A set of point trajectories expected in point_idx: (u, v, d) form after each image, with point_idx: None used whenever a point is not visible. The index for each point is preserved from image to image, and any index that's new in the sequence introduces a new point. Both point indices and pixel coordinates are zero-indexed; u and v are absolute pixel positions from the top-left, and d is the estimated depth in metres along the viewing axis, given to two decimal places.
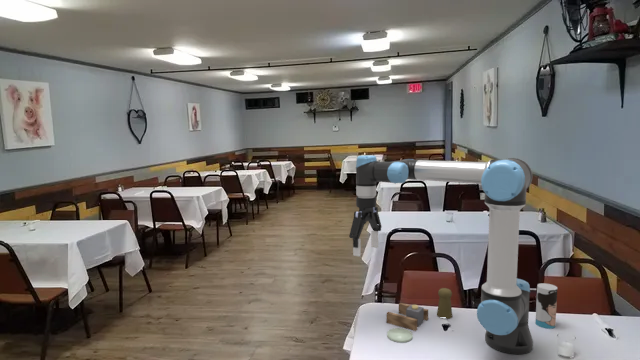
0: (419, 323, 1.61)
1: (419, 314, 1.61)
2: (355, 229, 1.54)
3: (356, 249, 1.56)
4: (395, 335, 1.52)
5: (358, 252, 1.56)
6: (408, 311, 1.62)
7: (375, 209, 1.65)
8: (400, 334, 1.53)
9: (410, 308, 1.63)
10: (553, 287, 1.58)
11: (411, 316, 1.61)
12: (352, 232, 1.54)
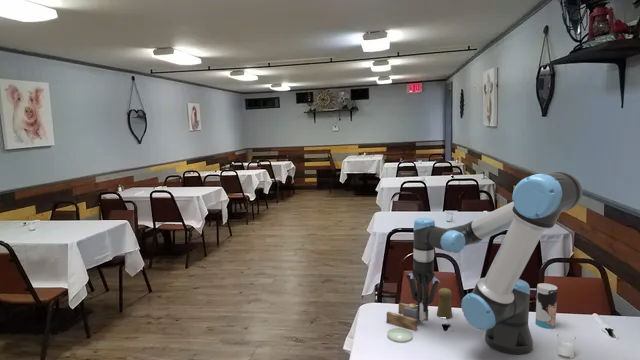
0: (417, 322, 1.62)
1: (417, 313, 1.61)
2: None
3: None
4: (395, 335, 1.52)
5: None
6: (406, 310, 1.63)
7: (435, 282, 1.56)
8: (400, 334, 1.53)
9: (407, 307, 1.64)
10: (553, 287, 1.58)
11: (409, 316, 1.62)
12: None
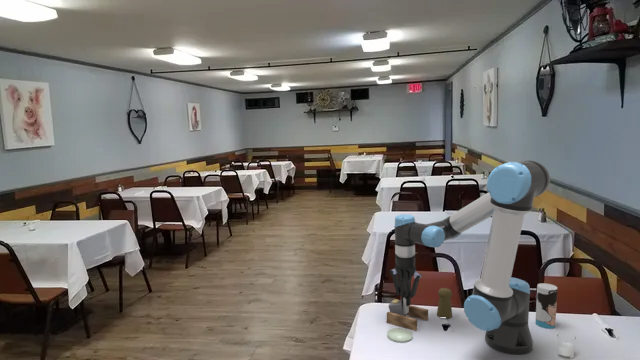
0: (404, 315, 1.66)
1: (402, 306, 1.66)
2: None
3: None
4: (395, 335, 1.52)
5: None
6: (391, 306, 1.66)
7: (416, 276, 1.61)
8: (400, 334, 1.53)
9: (391, 304, 1.67)
10: (553, 287, 1.58)
11: (395, 311, 1.66)
12: None
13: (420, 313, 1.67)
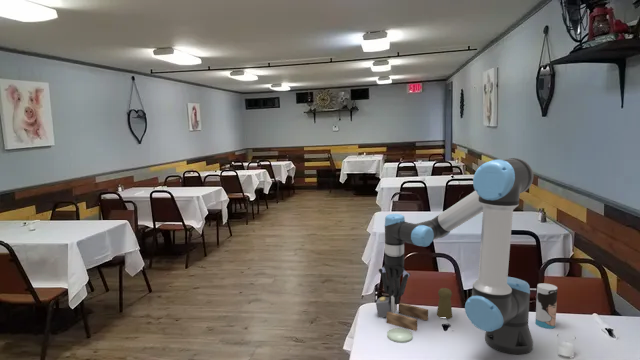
0: None
1: (389, 304, 1.68)
2: None
3: None
4: (395, 335, 1.52)
5: None
6: (378, 304, 1.68)
7: (405, 275, 1.63)
8: (400, 334, 1.53)
9: (379, 301, 1.70)
10: (553, 287, 1.58)
11: (382, 309, 1.68)
12: None
13: (420, 313, 1.67)
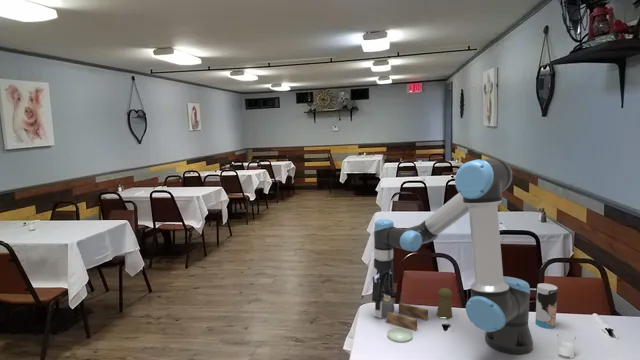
0: None
1: (392, 306, 1.68)
2: (376, 294, 1.65)
3: (378, 311, 1.68)
4: (395, 335, 1.52)
5: (380, 314, 1.68)
6: None
7: (391, 271, 1.74)
8: (400, 334, 1.53)
9: (382, 301, 1.69)
10: (553, 287, 1.58)
11: (384, 309, 1.68)
12: (374, 297, 1.65)
13: (420, 313, 1.67)
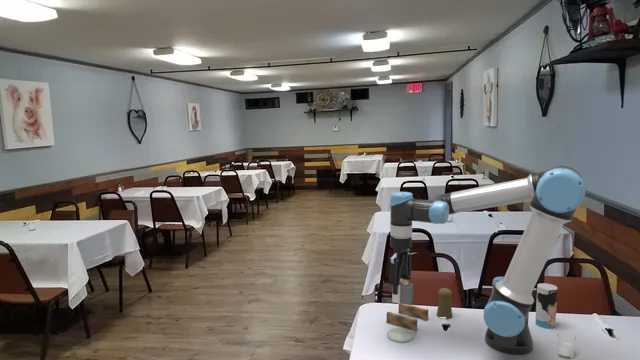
0: (411, 300, 1.49)
1: (411, 290, 1.48)
2: (394, 276, 1.45)
3: (395, 296, 1.49)
4: (395, 335, 1.52)
5: (398, 299, 1.48)
6: None
7: (409, 251, 1.54)
8: (400, 334, 1.53)
9: (400, 285, 1.50)
10: (553, 287, 1.58)
11: (402, 294, 1.48)
12: (391, 279, 1.46)
13: (420, 313, 1.67)
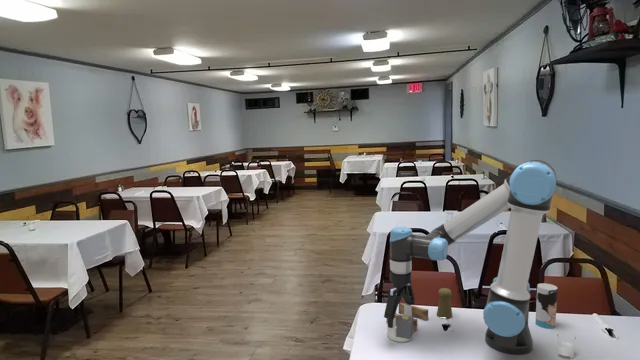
0: (411, 334, 1.50)
1: (411, 325, 1.50)
2: (390, 309, 1.44)
3: (391, 329, 1.47)
4: (395, 335, 1.52)
5: (393, 332, 1.46)
6: (399, 322, 1.50)
7: None
8: None
9: (400, 319, 1.51)
10: (553, 287, 1.58)
11: (402, 328, 1.50)
12: (387, 312, 1.44)
13: (420, 313, 1.67)
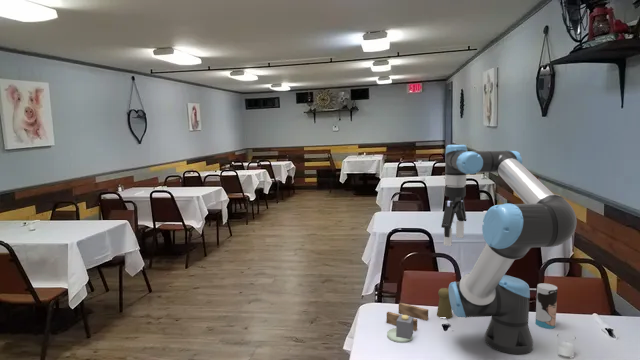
0: (411, 334, 1.50)
1: (411, 325, 1.50)
2: (448, 218, 1.53)
3: (447, 238, 1.55)
4: (395, 335, 1.52)
5: (449, 241, 1.55)
6: (399, 322, 1.50)
7: (462, 199, 1.64)
8: None
9: (400, 319, 1.51)
10: (553, 287, 1.58)
11: (402, 328, 1.50)
12: (445, 221, 1.53)
13: (420, 313, 1.67)
